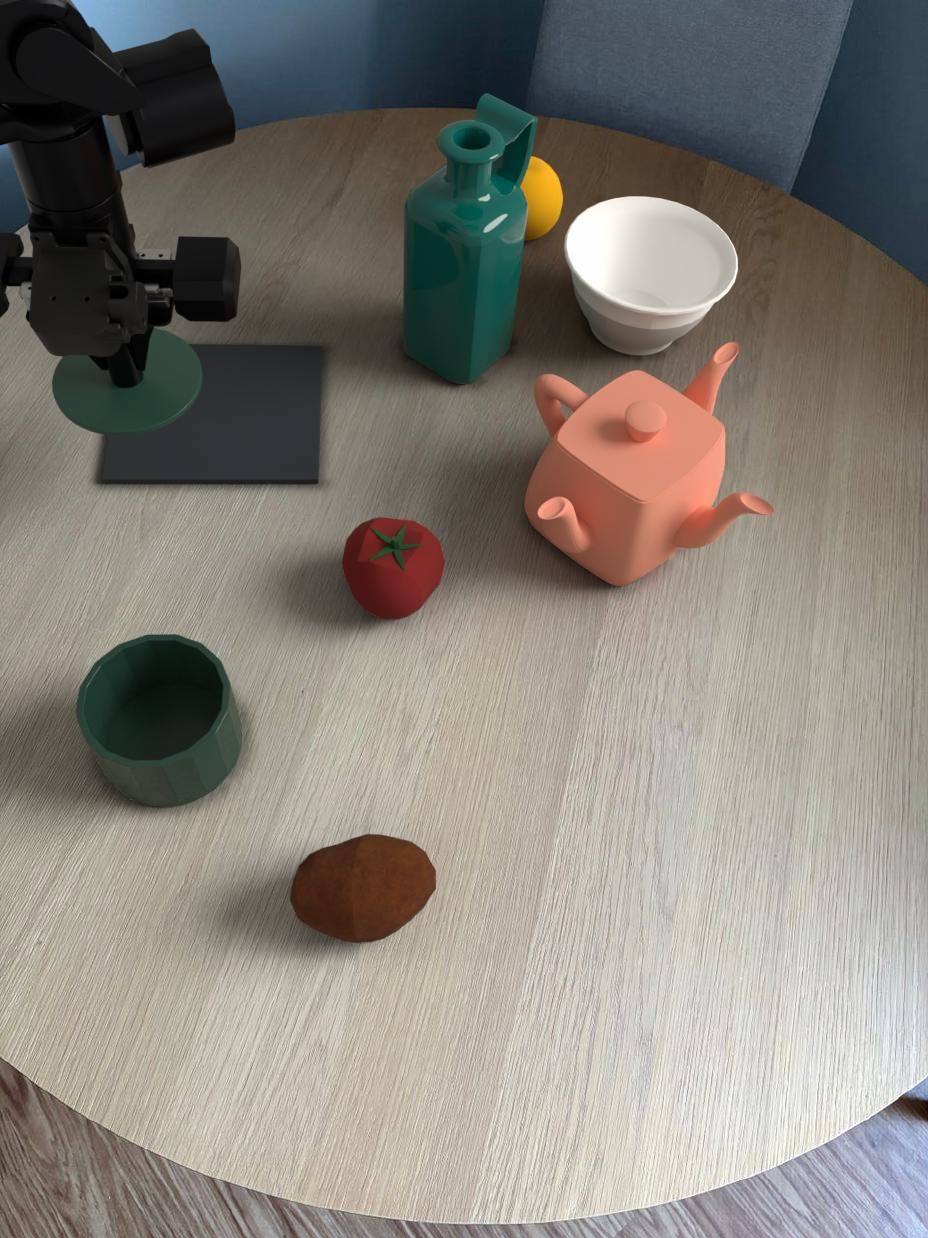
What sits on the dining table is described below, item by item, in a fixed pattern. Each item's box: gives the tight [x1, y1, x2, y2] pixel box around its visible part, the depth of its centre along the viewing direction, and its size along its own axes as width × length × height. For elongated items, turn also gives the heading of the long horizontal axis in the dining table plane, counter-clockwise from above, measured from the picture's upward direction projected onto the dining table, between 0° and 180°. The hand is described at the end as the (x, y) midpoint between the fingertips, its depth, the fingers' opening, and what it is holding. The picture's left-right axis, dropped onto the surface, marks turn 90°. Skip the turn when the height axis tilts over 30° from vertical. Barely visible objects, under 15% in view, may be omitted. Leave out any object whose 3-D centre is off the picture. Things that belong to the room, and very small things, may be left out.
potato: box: [289, 833, 437, 944], centre depth 68 cm, size 7×9×6 cm
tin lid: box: [51, 327, 203, 437], centre depth 78 cm, size 11×11×6 cm
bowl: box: [563, 195, 739, 356], centre depth 99 cm, size 16×16×9 cm
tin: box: [75, 633, 243, 808], centre depth 73 cm, size 10×10×7 cm
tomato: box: [340, 516, 446, 621], centre depth 81 cm, size 8×8×7 cm
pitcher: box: [402, 92, 539, 385], centre depth 90 cm, size 10×8×22 cm
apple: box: [520, 155, 564, 241], centre depth 106 cm, size 8×8×8 cm
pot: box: [524, 341, 775, 587], centre depth 84 cm, size 18×17×12 cm
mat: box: [101, 343, 324, 485], centre depth 93 cm, size 18×16×1 cm
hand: (124, 366), depth 78 cm, fingers closed on tin lid, 2 cm apart
